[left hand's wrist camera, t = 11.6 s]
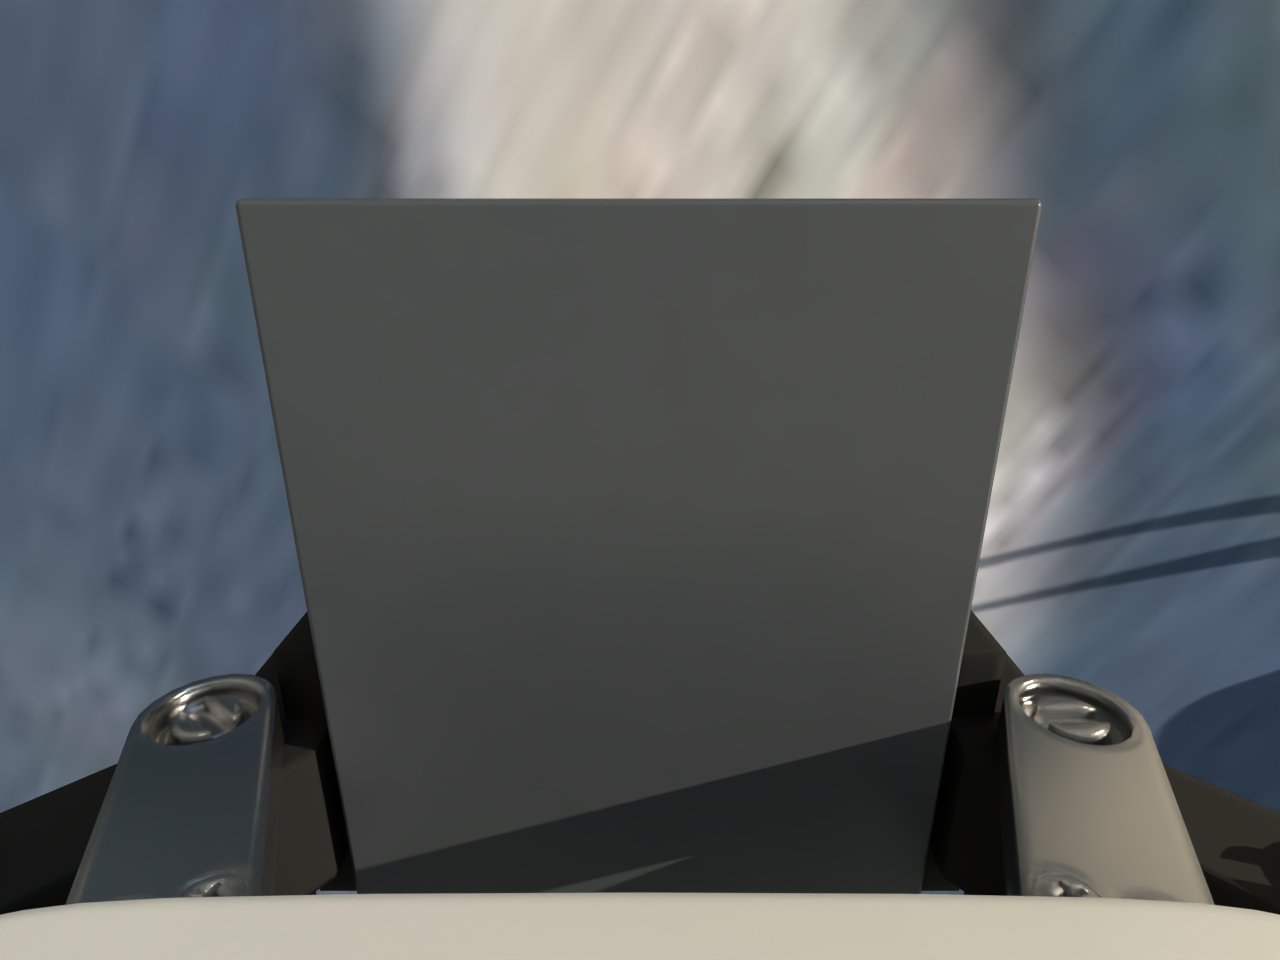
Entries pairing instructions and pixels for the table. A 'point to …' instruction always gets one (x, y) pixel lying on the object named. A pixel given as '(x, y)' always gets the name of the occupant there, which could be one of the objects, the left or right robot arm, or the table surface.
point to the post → (638, 525)
